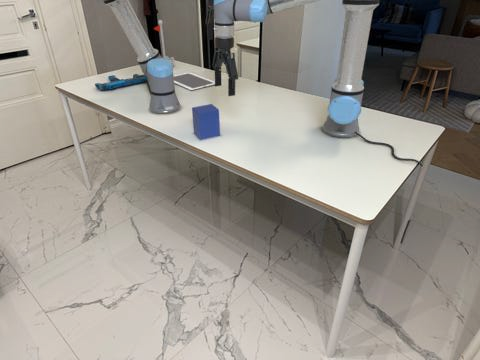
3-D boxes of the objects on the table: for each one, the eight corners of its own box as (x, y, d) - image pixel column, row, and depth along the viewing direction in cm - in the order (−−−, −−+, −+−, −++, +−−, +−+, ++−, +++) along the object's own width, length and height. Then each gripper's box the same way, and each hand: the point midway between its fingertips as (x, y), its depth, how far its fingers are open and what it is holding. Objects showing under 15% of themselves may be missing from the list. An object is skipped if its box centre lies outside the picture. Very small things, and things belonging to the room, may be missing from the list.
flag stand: (172, 63, 247) (168, 18, 231) (176, 67, 237) (171, 20, 221) (154, 64, 243) (148, 19, 227) (158, 69, 233) (151, 21, 217)
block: (212, 129, 152) (211, 103, 145) (220, 135, 146) (219, 109, 140) (193, 133, 148) (191, 107, 142) (200, 140, 142) (198, 113, 136)
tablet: (163, 78, 216) (163, 77, 215) (189, 72, 227) (189, 71, 226) (191, 90, 195) (191, 90, 195) (219, 83, 206) (219, 83, 206)
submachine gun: (139, 68, 225) (158, 74, 208) (140, 74, 226) (158, 80, 210) (87, 78, 206) (103, 86, 189) (89, 84, 208) (104, 92, 191)
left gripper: (197, -6, 176) (200, 38, 187) (218, -2, 157) (219, 47, 169) (210, -6, 179) (212, 37, 190) (232, -2, 160) (232, 45, 172)
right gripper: (203, 31, 138) (205, 83, 150) (229, 43, 120) (229, 101, 132) (220, 30, 141) (220, 80, 153) (247, 42, 123) (246, 98, 135)
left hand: (216, 41), depth 179 cm, fingers open, 13 cm apart
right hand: (224, 90), depth 142 cm, fingers open, 13 cm apart
